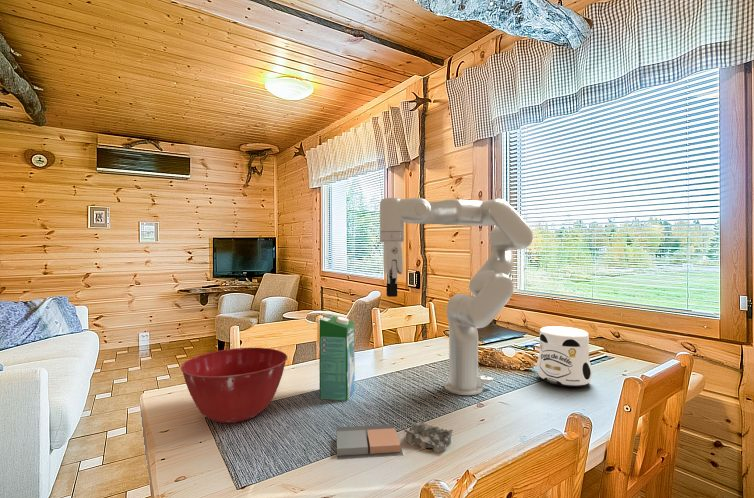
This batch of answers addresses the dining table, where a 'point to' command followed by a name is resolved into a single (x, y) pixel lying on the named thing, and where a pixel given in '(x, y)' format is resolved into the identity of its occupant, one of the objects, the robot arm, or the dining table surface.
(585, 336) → the milk container
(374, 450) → the terracotta tile
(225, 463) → the dining table surface
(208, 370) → the mixing bowl
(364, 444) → the grey flat block
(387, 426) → the rubber mat
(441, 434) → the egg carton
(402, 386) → the dining table surface
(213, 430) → the dining table surface
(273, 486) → the dining table surface
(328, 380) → the milk carton
